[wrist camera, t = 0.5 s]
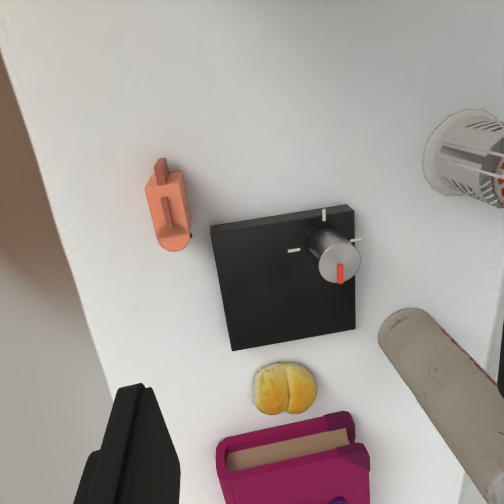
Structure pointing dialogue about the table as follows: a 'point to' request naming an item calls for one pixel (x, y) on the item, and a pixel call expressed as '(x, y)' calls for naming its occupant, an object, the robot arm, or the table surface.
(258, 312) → the hot plate
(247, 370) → the table surface
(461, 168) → the french press
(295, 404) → the bread roll
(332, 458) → the book
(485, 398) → the thermos bottle
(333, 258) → the knob
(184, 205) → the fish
